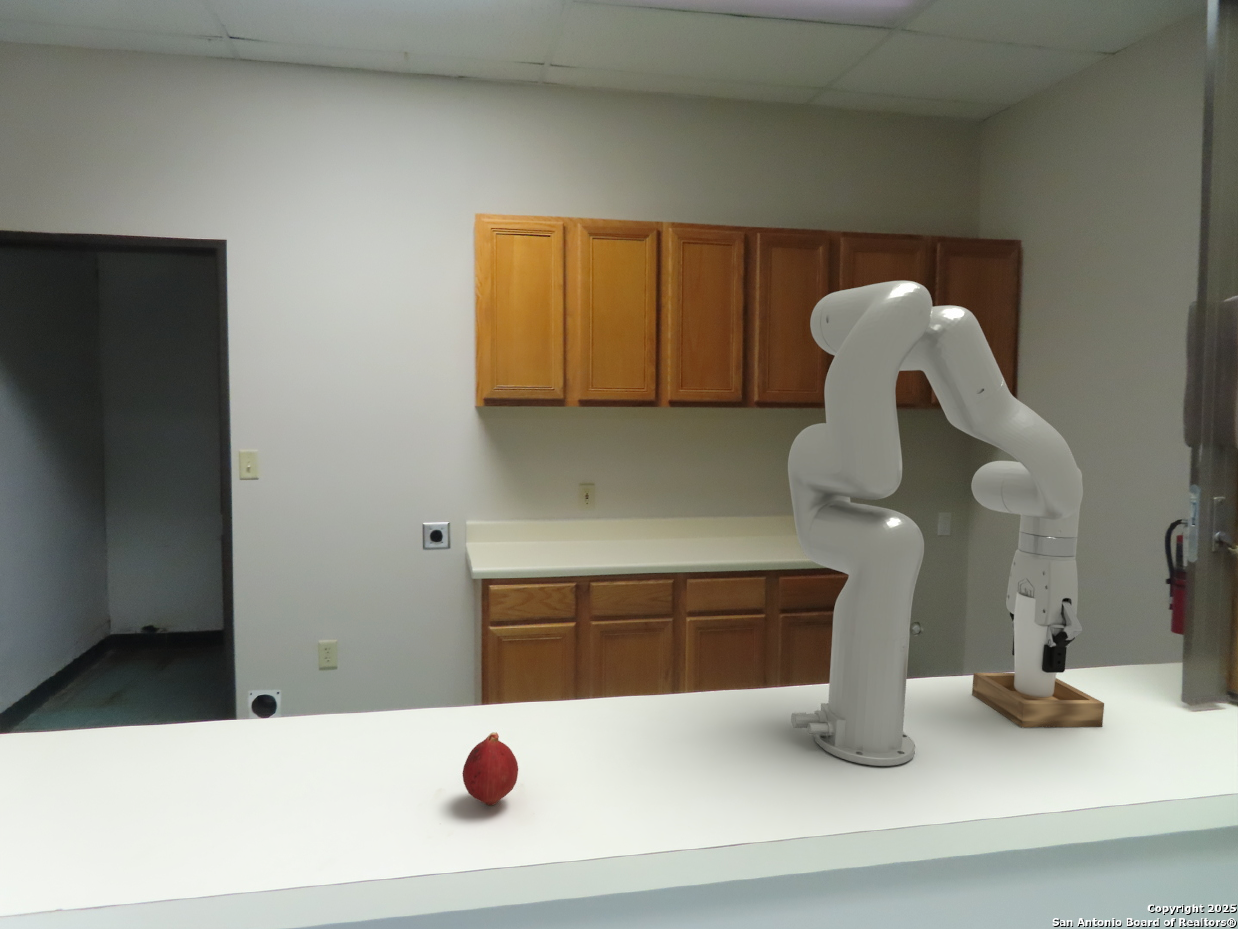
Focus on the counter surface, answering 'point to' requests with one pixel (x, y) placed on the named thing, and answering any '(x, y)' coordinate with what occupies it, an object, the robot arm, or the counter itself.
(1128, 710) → the counter surface
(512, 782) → the onion
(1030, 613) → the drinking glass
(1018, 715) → the tray
